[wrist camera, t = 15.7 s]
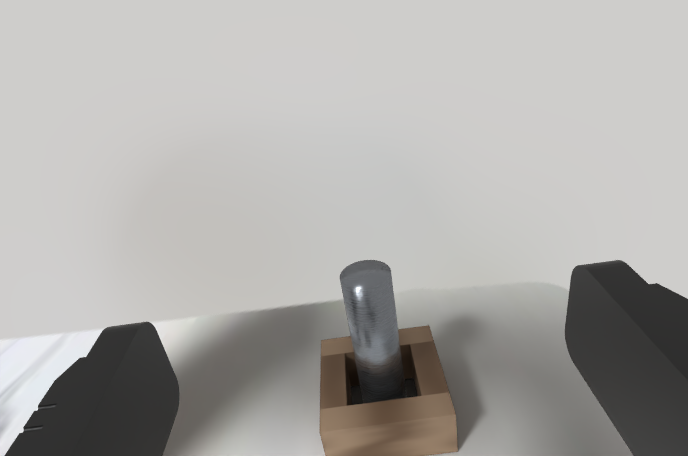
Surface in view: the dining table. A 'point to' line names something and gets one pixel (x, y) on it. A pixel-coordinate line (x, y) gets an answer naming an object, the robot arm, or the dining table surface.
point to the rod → (374, 330)
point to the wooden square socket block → (386, 404)
